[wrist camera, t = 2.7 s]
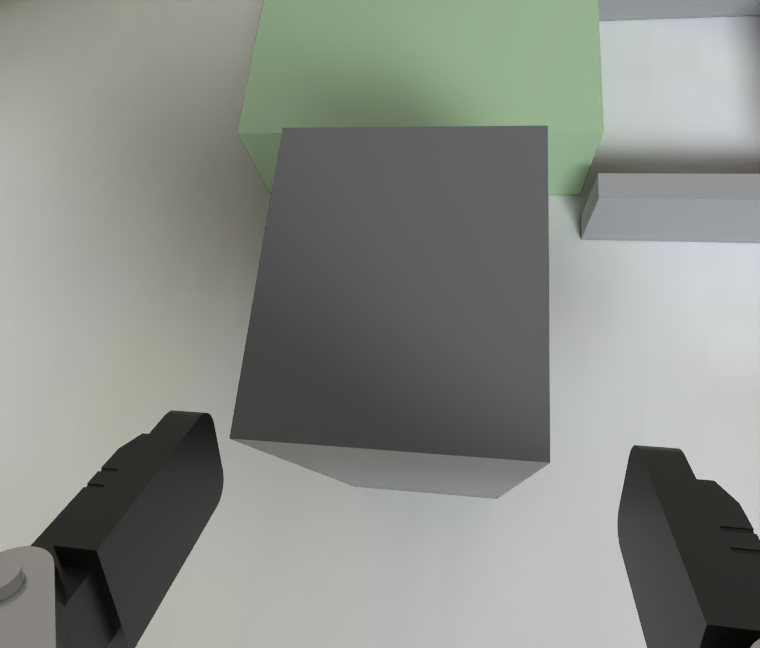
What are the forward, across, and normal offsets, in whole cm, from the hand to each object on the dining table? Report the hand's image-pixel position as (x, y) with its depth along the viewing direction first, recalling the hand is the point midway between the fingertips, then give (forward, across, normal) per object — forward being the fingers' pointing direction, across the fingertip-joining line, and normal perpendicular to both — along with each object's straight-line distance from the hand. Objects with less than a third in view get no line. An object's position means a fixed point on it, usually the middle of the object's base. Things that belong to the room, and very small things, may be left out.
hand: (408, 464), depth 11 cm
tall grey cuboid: (+9, 0, +5) cm, 10 cm away
